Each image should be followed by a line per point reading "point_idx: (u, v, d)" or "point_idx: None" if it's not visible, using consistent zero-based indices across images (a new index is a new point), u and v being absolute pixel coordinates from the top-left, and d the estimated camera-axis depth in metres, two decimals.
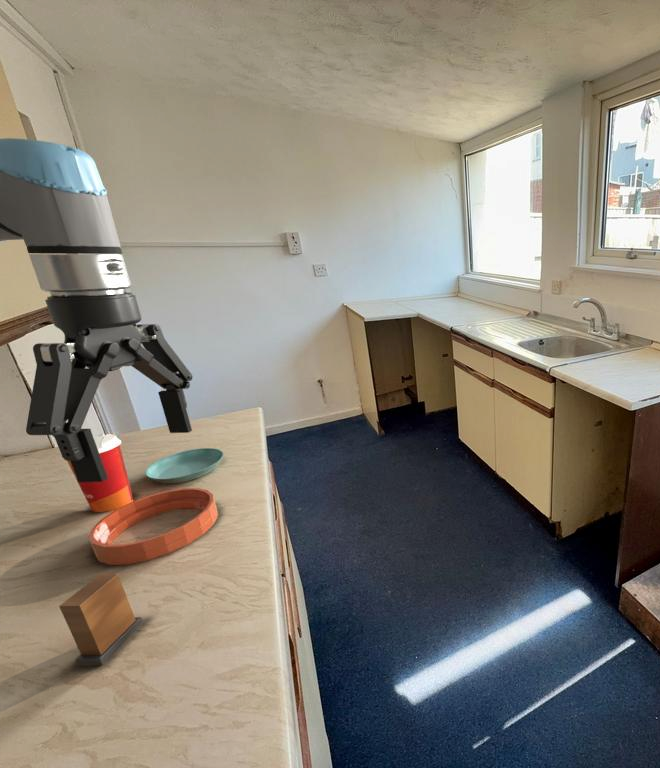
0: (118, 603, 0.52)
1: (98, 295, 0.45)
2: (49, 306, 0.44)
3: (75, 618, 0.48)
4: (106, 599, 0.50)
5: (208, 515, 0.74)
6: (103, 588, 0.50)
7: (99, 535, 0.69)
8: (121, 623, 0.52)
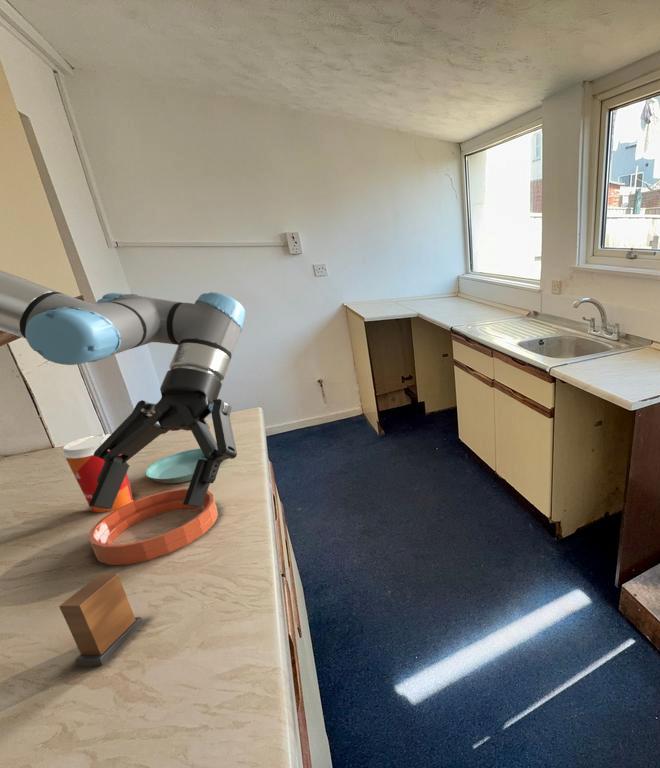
0: (118, 603, 0.52)
1: None
2: (206, 377, 0.64)
3: (75, 618, 0.48)
4: (106, 599, 0.50)
5: (208, 515, 0.74)
6: (103, 588, 0.50)
7: (99, 535, 0.69)
8: (121, 623, 0.52)
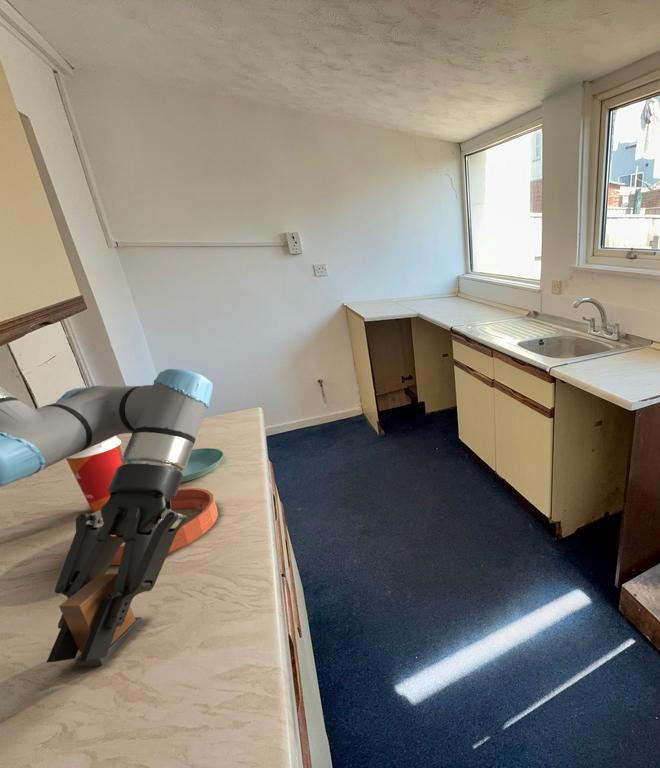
0: None
1: None
2: (164, 473, 0.57)
3: (75, 618, 0.48)
4: None
5: (208, 515, 0.74)
6: (103, 588, 0.50)
7: None
8: None
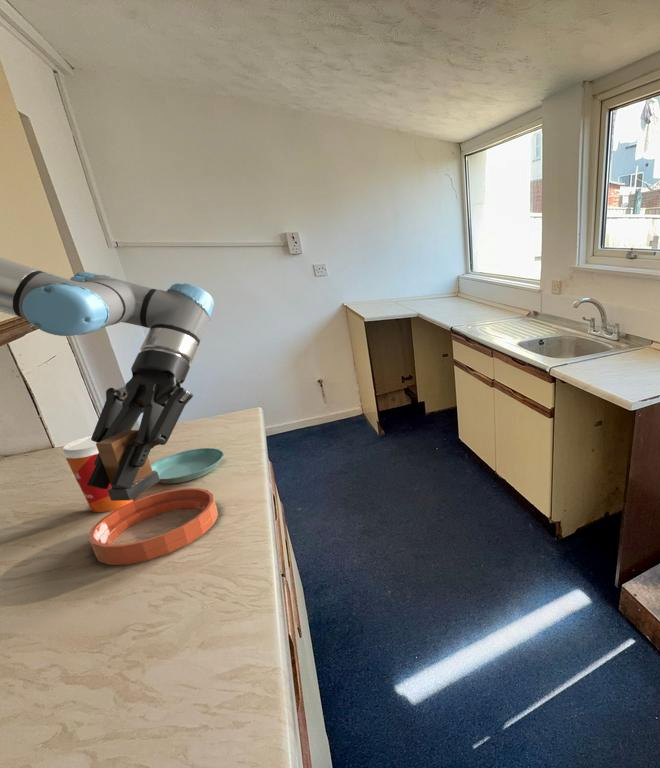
0: None
1: None
2: (174, 359, 0.71)
3: (108, 454, 0.62)
4: None
5: (208, 515, 0.74)
6: (128, 437, 0.64)
7: (99, 535, 0.69)
8: (142, 470, 0.67)
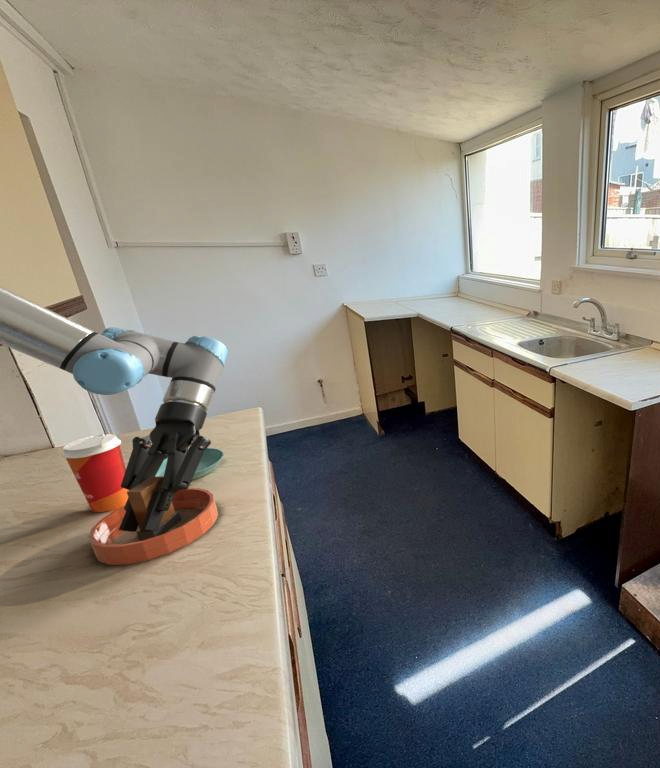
0: None
1: None
2: (194, 409, 0.78)
3: (137, 501, 0.69)
4: None
5: (208, 515, 0.74)
6: (154, 484, 0.71)
7: (99, 535, 0.69)
8: (166, 512, 0.74)
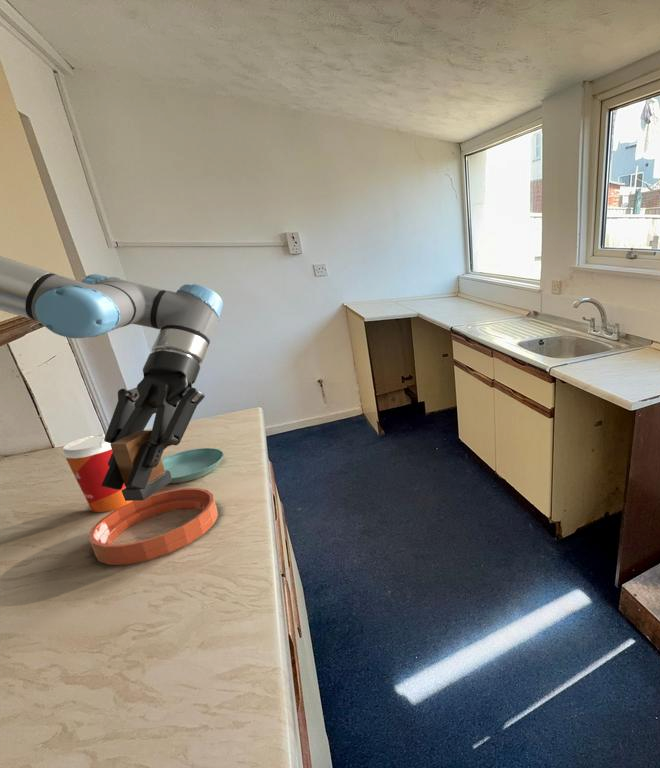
0: None
1: None
2: (186, 360, 0.71)
3: (122, 455, 0.62)
4: None
5: (208, 515, 0.74)
6: (142, 438, 0.64)
7: (99, 535, 0.69)
8: (155, 470, 0.67)
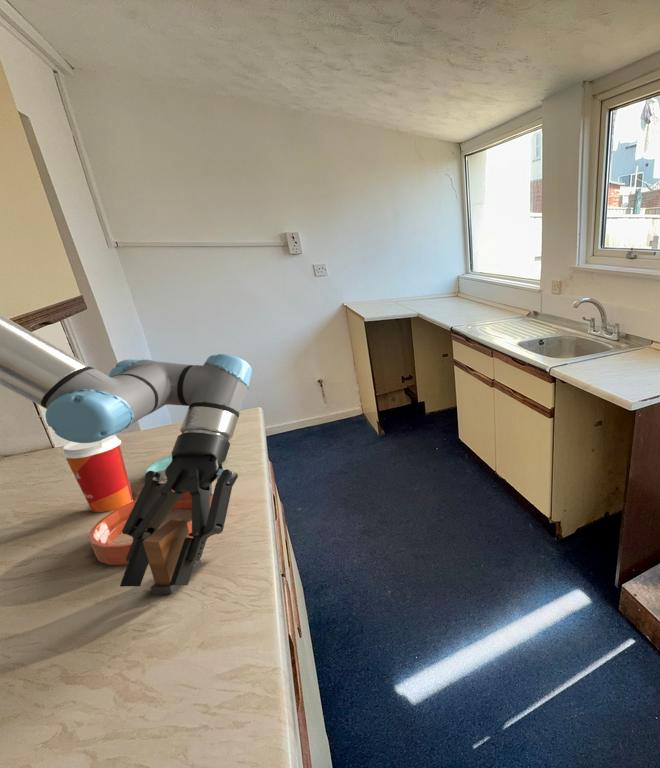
0: None
1: None
2: (216, 441, 0.67)
3: (154, 552, 0.58)
4: (177, 540, 0.61)
5: None
6: (175, 531, 0.60)
7: (99, 535, 0.69)
8: None
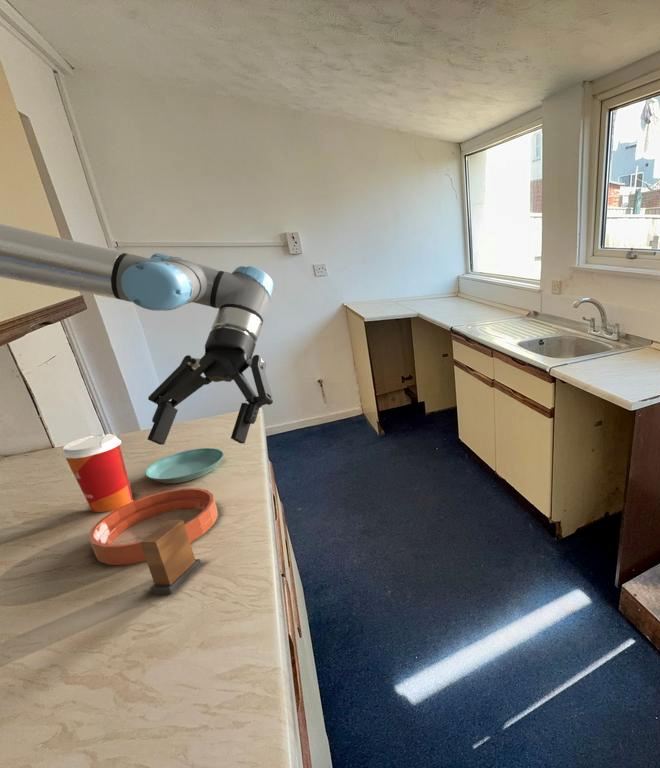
0: (183, 545, 0.62)
1: None
2: (244, 337, 0.75)
3: (152, 552, 0.58)
4: (175, 540, 0.61)
5: (208, 515, 0.74)
6: (172, 531, 0.60)
7: (99, 535, 0.69)
8: (185, 562, 0.63)
